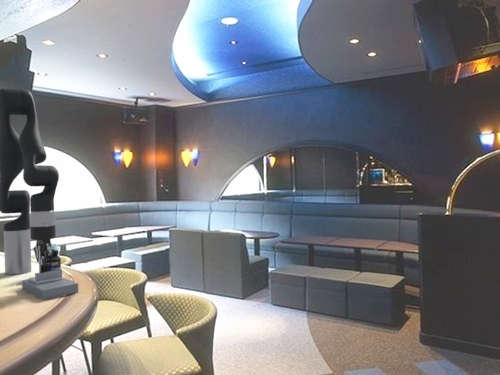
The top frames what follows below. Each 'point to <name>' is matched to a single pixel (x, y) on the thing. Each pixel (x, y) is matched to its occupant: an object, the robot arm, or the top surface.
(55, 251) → the pill bottle
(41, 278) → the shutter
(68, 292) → the socket plate
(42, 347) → the top surface
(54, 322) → the top surface
